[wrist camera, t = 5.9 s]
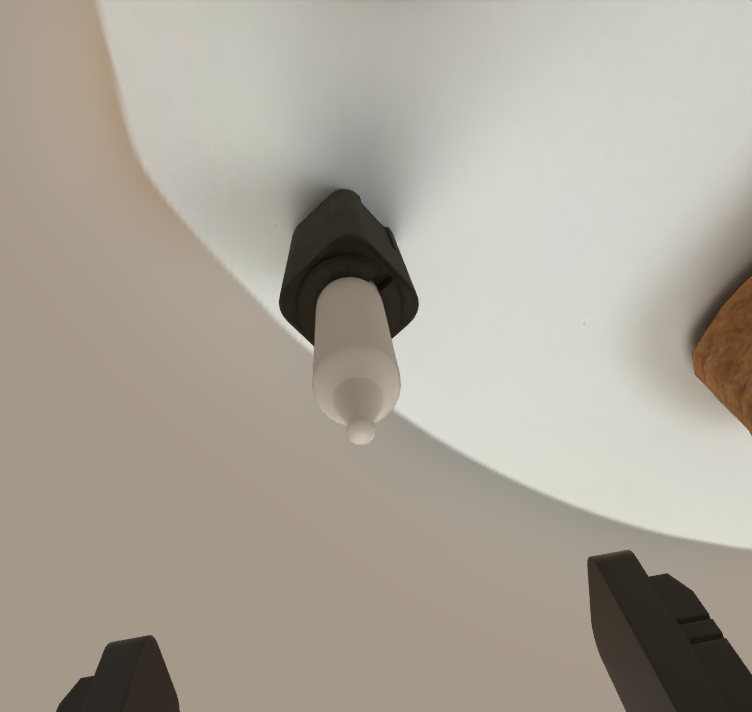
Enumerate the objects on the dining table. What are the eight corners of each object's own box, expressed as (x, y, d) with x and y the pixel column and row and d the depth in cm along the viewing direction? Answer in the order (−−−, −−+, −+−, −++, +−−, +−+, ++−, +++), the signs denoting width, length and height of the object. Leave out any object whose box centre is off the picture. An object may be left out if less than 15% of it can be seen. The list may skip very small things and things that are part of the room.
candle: (402, 242, 43) (486, 437, 20) (342, 297, 44) (357, 543, 21) (344, 180, 42) (365, 316, 19) (284, 239, 43) (232, 437, 20)
